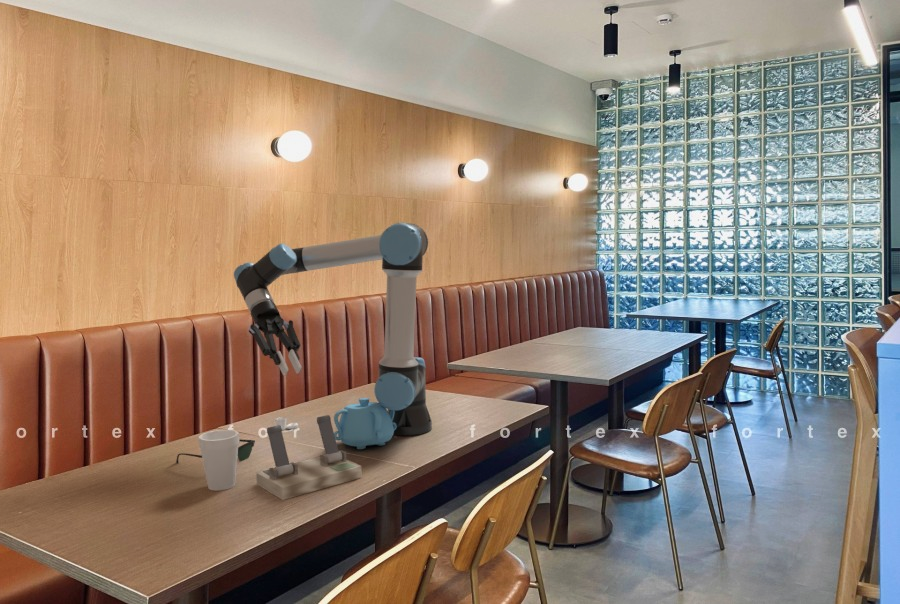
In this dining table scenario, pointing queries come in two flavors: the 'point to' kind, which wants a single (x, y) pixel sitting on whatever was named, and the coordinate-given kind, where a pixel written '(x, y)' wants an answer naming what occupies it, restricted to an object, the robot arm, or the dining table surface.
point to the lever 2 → (328, 439)
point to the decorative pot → (364, 424)
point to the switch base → (309, 476)
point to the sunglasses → (243, 450)
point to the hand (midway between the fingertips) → (292, 371)
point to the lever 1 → (279, 451)
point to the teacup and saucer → (282, 423)
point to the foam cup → (219, 457)
